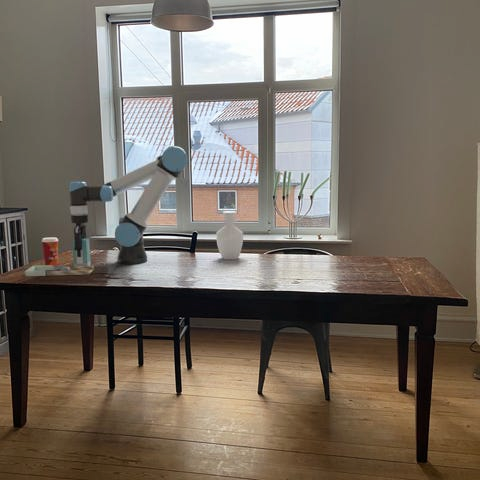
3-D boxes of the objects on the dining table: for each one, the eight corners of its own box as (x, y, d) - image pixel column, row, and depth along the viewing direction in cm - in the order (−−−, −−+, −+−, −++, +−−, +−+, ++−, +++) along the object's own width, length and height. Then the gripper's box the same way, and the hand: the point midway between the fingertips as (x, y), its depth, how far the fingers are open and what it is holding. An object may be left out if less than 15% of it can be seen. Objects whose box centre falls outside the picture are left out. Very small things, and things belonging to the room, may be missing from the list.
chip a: (71, 272, 205) (70, 266, 204) (68, 274, 201) (68, 268, 200) (62, 272, 204) (61, 267, 204) (59, 274, 200) (59, 268, 200)
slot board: (94, 270, 211) (93, 265, 211) (88, 276, 200) (88, 270, 200) (54, 271, 209) (54, 266, 209) (46, 277, 198) (46, 271, 198)
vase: (248, 257, 244) (248, 211, 240) (233, 261, 232) (233, 213, 228) (226, 254, 251) (226, 210, 247) (211, 259, 239) (210, 212, 236)
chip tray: (53, 271, 210) (53, 265, 209) (45, 277, 198) (44, 270, 197) (34, 271, 209) (34, 265, 208) (25, 277, 197) (24, 271, 197)
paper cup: (54, 268, 217) (52, 239, 215) (39, 267, 218) (37, 239, 216) (63, 265, 225) (61, 237, 222) (49, 264, 226) (47, 236, 224)
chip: (64, 270, 208) (64, 265, 208) (62, 272, 204) (61, 266, 204) (55, 270, 208) (55, 265, 207) (52, 272, 204) (52, 267, 203)
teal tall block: (90, 266, 221) (89, 238, 218) (87, 269, 215) (86, 240, 213) (76, 266, 220) (75, 238, 218) (73, 269, 214) (72, 240, 212)
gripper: (76, 212, 223) (79, 258, 226) (65, 216, 203) (68, 266, 207) (92, 212, 223) (94, 257, 227) (82, 216, 204) (85, 265, 207)
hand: (82, 261), depth 217 cm, fingers open, 7 cm apart
